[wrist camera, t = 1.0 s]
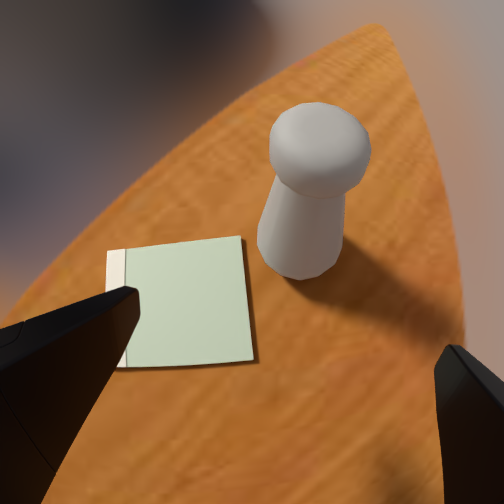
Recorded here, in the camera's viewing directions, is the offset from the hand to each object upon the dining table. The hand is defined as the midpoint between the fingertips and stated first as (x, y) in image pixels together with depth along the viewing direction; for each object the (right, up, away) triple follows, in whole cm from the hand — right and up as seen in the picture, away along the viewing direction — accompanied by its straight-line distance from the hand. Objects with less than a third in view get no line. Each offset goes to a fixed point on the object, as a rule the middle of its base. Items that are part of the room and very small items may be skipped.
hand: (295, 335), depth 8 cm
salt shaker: (+2, +2, +16) cm, 16 cm away
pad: (-6, -1, +14) cm, 16 cm away
